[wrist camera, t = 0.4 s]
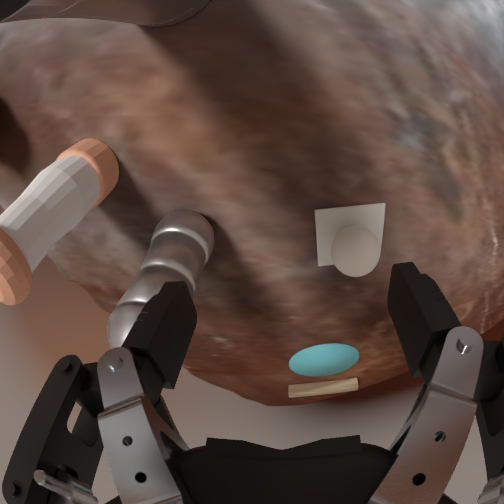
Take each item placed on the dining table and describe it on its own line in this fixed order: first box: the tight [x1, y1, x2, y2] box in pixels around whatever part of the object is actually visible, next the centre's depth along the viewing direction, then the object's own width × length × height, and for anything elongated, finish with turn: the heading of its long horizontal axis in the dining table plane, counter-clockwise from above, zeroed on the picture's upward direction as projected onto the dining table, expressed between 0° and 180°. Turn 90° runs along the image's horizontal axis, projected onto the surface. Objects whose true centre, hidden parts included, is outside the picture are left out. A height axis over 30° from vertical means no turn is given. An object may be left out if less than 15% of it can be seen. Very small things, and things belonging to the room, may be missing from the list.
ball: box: [331, 225, 381, 277], centre depth 28 cm, size 6×6×6 cm
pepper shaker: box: [0, 138, 119, 305], centre depth 18 cm, size 7×7×19 cm
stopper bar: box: [289, 378, 358, 397], centre depth 55 cm, size 2×16×2 cm, turn 101°
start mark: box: [314, 203, 386, 266], centre depth 30 cm, size 8×8×1 cm
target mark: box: [289, 343, 359, 376], centre depth 49 cm, size 14×14×1 cm
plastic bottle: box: [107, 210, 214, 349], centre depth 23 cm, size 6×7×20 cm
